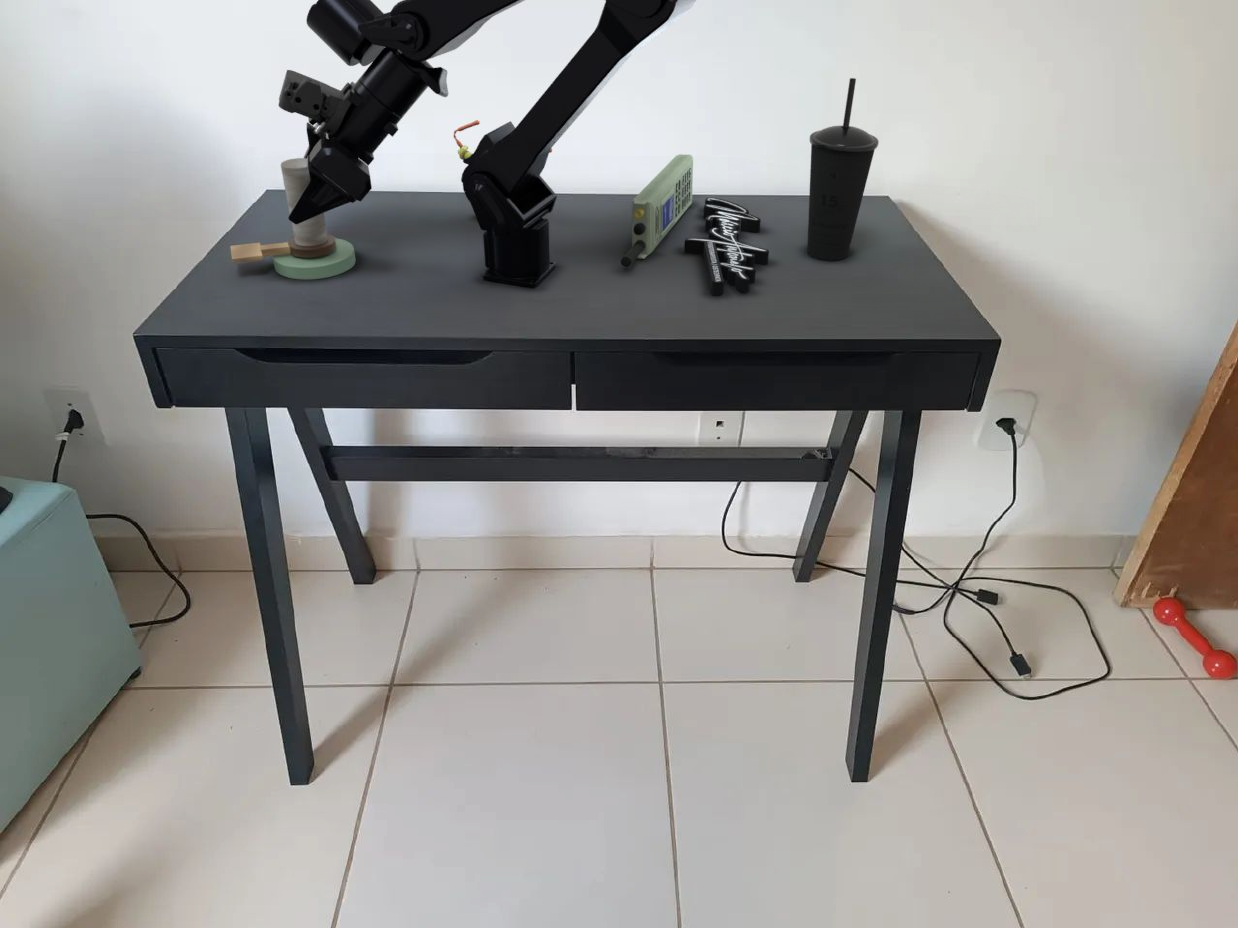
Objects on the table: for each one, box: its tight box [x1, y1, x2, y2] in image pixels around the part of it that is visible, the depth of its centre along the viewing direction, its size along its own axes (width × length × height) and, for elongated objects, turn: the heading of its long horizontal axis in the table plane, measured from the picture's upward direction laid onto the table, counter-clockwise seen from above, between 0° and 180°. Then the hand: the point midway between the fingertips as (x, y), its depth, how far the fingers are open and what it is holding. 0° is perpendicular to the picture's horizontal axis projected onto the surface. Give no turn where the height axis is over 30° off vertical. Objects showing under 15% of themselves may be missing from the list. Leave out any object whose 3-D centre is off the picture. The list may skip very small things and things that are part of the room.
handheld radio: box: [620, 153, 694, 268], centre depth 116 cm, size 7×3×25 cm
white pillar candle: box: [230, 157, 336, 264], centre depth 104 cm, size 11×5×10 cm, turn 111°
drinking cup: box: [806, 77, 879, 262], centre depth 108 cm, size 8×8×20 cm
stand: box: [271, 237, 356, 281], centre depth 109 cm, size 9×9×2 cm
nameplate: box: [683, 197, 770, 297], centre depth 115 cm, size 27×2×10 cm
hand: (292, 207), depth 105 cm, fingers open, 9 cm apart
